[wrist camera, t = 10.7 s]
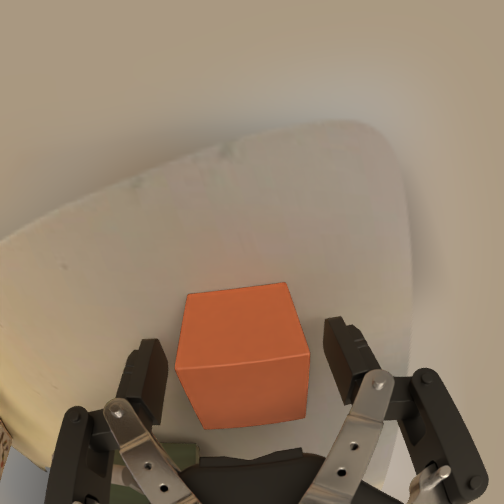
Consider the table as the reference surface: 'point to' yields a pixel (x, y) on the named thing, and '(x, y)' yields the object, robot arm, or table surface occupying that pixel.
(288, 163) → the table surface
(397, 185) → the table surface
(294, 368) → the block
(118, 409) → the robot arm
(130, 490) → the drawer
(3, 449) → the decorative jar
